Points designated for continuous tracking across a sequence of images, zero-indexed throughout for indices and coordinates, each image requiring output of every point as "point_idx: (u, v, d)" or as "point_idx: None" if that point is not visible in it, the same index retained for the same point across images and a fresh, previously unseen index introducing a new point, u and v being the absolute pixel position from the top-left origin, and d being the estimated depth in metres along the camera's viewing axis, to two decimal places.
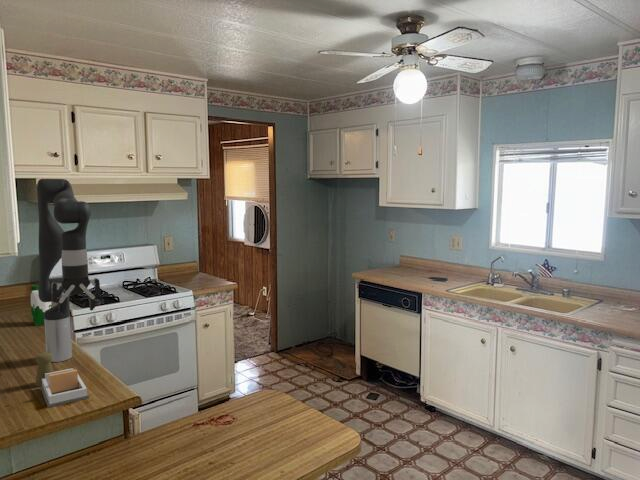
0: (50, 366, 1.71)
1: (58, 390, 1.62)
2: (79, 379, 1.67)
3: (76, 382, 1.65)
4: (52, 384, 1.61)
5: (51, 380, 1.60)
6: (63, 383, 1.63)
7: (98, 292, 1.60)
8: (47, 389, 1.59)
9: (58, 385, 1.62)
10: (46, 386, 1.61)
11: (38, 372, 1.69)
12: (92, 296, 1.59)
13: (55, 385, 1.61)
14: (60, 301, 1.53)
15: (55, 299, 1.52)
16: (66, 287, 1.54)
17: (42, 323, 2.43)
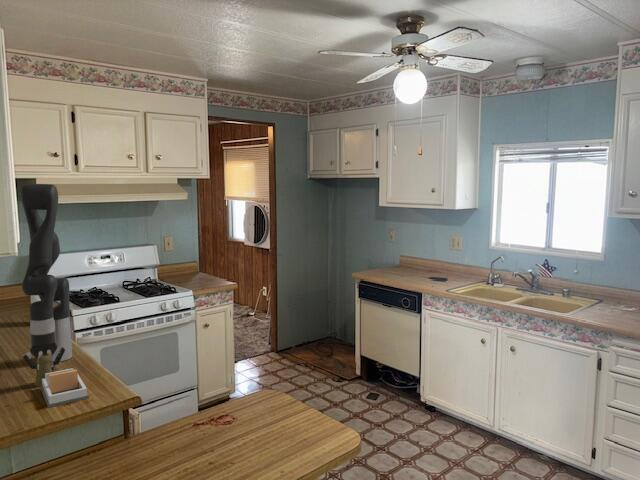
0: (50, 366, 1.71)
1: (58, 390, 1.62)
2: (79, 379, 1.67)
3: (76, 382, 1.65)
4: (52, 384, 1.61)
5: (51, 380, 1.60)
6: (63, 383, 1.63)
7: (58, 360, 1.73)
8: (47, 389, 1.59)
9: (58, 385, 1.62)
10: (46, 386, 1.61)
11: (38, 372, 1.69)
12: (51, 364, 1.72)
13: (55, 385, 1.61)
14: (38, 368, 1.69)
15: (33, 366, 1.68)
16: (36, 355, 1.69)
17: None
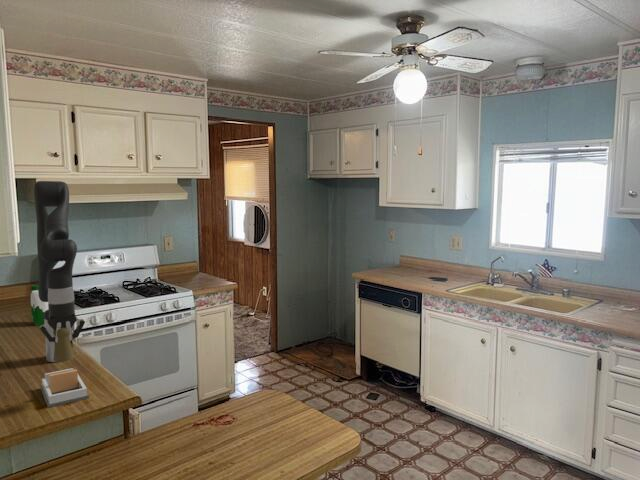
0: None
1: (58, 390, 1.62)
2: (79, 379, 1.67)
3: (76, 382, 1.65)
4: (52, 384, 1.61)
5: (51, 380, 1.60)
6: (63, 383, 1.63)
7: (77, 333, 1.60)
8: (47, 389, 1.59)
9: (58, 385, 1.62)
10: (46, 386, 1.61)
11: (56, 346, 1.56)
12: (70, 337, 1.58)
13: (55, 385, 1.61)
14: (56, 341, 1.56)
15: (51, 339, 1.55)
16: (54, 327, 1.55)
17: (42, 323, 2.43)
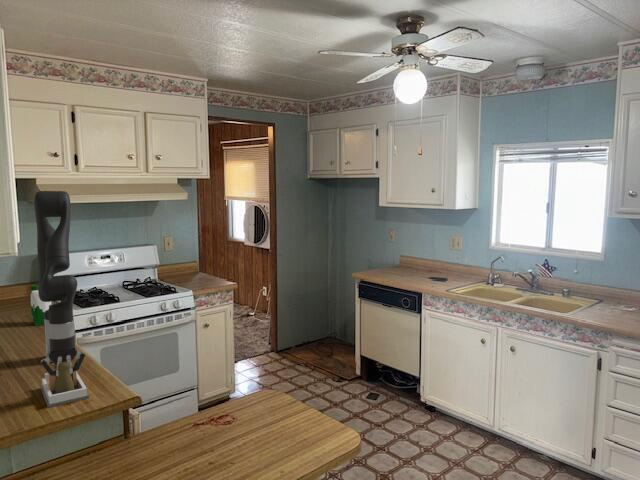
0: None
1: None
2: (79, 379, 1.67)
3: (75, 380, 1.67)
4: (51, 382, 1.62)
5: (50, 378, 1.62)
6: None
7: (77, 366, 1.63)
8: (47, 389, 1.59)
9: None
10: (46, 386, 1.61)
11: (57, 379, 1.60)
12: (71, 370, 1.62)
13: (54, 383, 1.63)
14: (57, 374, 1.59)
15: (52, 372, 1.58)
16: (55, 361, 1.59)
17: (42, 323, 2.43)
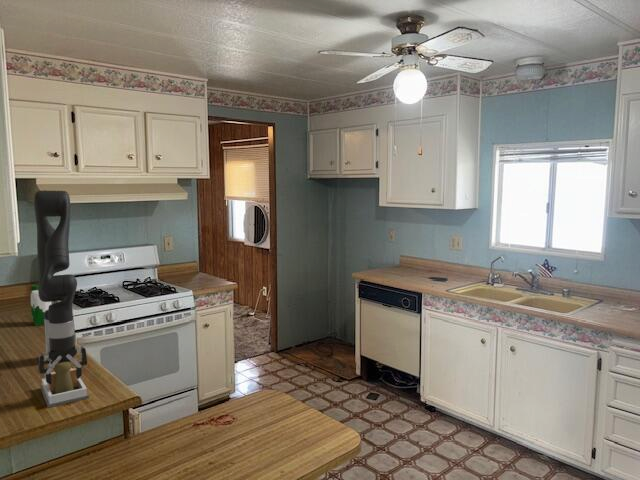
0: (69, 375, 1.61)
1: None
2: (79, 379, 1.67)
3: (75, 381, 1.66)
4: (51, 382, 1.62)
5: None
6: None
7: (84, 361, 1.64)
8: (47, 389, 1.59)
9: None
10: (46, 386, 1.61)
11: (56, 382, 1.59)
12: (79, 365, 1.63)
13: (54, 384, 1.62)
14: (47, 372, 1.58)
15: (42, 371, 1.57)
16: (53, 358, 1.59)
17: (42, 323, 2.43)
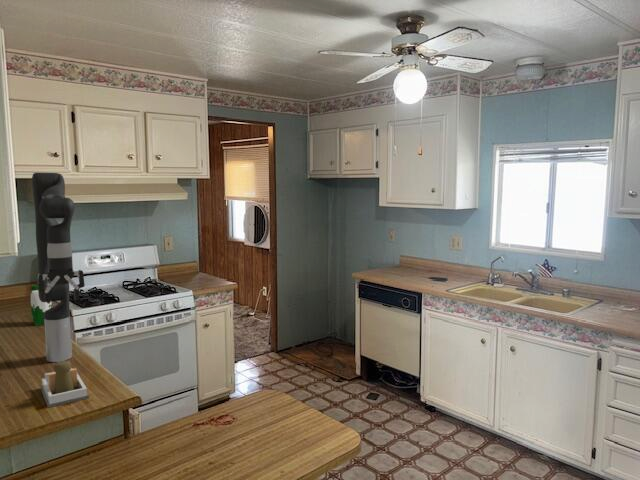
0: (69, 375, 1.61)
1: None
2: (79, 379, 1.67)
3: (75, 381, 1.66)
4: (51, 383, 1.62)
5: (50, 379, 1.61)
6: None
7: (82, 283, 1.70)
8: (47, 389, 1.59)
9: None
10: (46, 386, 1.61)
11: (56, 382, 1.59)
12: (76, 287, 1.69)
13: None
14: (46, 291, 1.64)
15: (41, 289, 1.63)
16: (51, 278, 1.65)
17: (42, 323, 2.43)
